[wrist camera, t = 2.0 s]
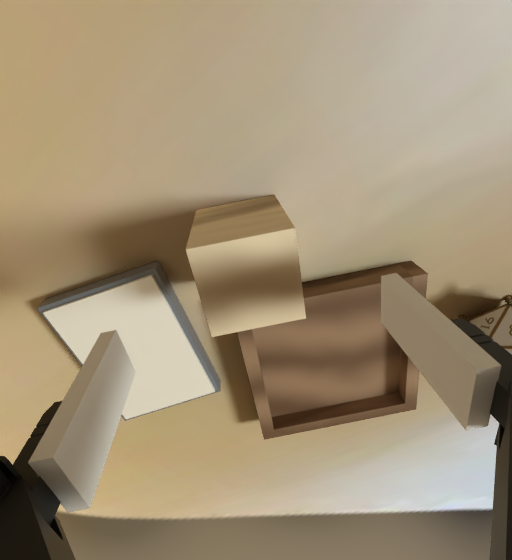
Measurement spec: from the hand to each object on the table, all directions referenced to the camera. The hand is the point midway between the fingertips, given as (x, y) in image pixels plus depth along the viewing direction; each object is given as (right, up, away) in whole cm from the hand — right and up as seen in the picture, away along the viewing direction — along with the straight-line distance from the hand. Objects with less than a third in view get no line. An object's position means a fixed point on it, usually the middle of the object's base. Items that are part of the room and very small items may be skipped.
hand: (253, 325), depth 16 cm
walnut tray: (+7, -5, +16) cm, 18 cm away
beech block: (-1, +6, +10) cm, 11 cm away
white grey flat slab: (-10, -4, +13) cm, 17 cm away
